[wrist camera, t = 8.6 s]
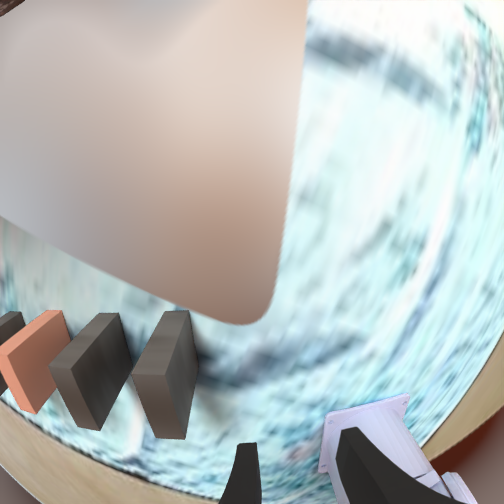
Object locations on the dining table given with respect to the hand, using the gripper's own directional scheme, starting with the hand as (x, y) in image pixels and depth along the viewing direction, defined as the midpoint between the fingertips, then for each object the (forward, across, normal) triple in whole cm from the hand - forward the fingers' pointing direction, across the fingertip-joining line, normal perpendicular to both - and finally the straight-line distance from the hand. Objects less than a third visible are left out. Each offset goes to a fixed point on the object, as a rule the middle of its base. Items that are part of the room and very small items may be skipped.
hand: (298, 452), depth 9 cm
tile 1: (+10, +6, 0) cm, 12 cm away
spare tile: (+10, +16, 0) cm, 19 cm away
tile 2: (+10, +11, 0) cm, 15 cm away
